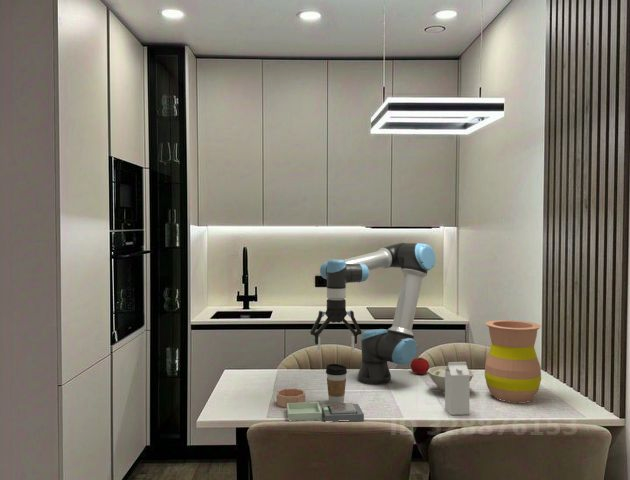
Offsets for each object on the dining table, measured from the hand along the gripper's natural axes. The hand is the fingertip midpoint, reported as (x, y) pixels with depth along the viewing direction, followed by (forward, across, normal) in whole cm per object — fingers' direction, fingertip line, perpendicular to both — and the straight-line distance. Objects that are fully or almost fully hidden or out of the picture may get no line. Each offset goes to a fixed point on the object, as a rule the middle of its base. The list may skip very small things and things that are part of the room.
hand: (335, 352), depth 221 cm
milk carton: (+20, -44, +15) cm, 51 cm away
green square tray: (+21, +14, +12) cm, 27 cm away
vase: (+20, -73, 0) cm, 76 cm away
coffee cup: (+21, 0, 0) cm, 21 cm away
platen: (+18, 0, +15) cm, 23 cm away
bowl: (+20, -50, -9) cm, 55 cm away
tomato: (+20, -46, -40) cm, 65 cm away
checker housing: (+20, 0, +15) cm, 25 cm away
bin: (+21, +18, -2) cm, 27 cm away
